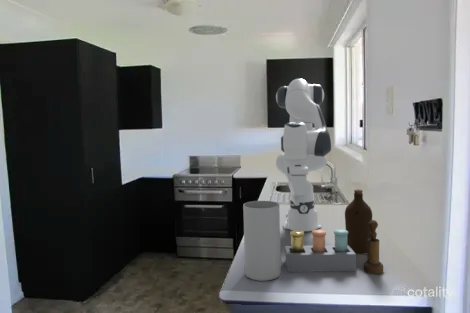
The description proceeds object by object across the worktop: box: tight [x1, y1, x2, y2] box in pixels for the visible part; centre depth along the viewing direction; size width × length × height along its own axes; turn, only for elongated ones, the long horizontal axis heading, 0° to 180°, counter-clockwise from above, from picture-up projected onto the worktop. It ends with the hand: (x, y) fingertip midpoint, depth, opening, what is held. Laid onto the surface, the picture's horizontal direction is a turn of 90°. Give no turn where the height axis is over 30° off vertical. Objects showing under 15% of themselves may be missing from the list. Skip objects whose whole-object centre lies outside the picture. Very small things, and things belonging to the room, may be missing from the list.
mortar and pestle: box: [362, 219, 384, 275], centre depth 129 cm, size 7×6×18 cm
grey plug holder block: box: [284, 244, 357, 272], centre depth 136 cm, size 10×24×6 cm, turn 88°
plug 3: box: [333, 229, 348, 252], centre depth 135 cm, size 5×5×8 cm
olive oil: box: [344, 189, 373, 255], centre depth 150 cm, size 11×11×25 cm
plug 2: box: [311, 229, 327, 253], centre depth 135 cm, size 5×5×8 cm
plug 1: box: [289, 230, 305, 253], centre depth 135 cm, size 5×5×8 cm
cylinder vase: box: [242, 200, 282, 282], centre depth 129 cm, size 12×12×25 cm
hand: (296, 204), depth 134 cm, fingers closed
